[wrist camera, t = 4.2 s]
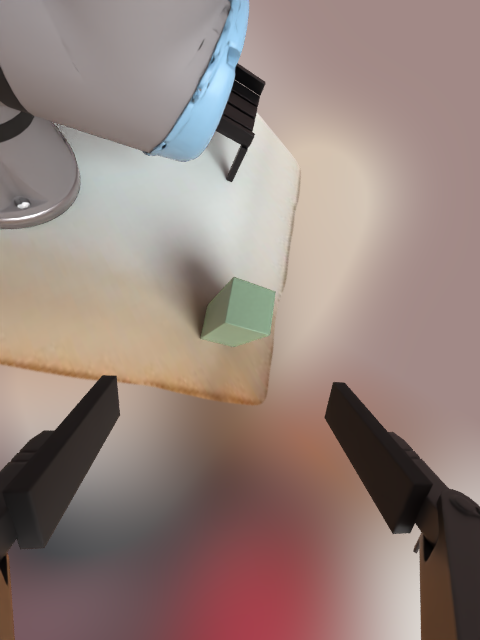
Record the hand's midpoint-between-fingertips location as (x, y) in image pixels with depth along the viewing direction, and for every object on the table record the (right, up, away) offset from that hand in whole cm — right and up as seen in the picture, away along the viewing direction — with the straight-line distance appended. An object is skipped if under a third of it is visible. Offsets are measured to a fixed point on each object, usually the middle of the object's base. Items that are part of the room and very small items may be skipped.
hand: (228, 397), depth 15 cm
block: (-2, +4, +19) cm, 19 cm away
